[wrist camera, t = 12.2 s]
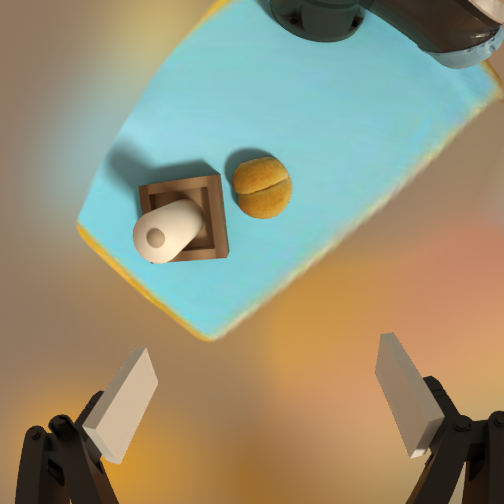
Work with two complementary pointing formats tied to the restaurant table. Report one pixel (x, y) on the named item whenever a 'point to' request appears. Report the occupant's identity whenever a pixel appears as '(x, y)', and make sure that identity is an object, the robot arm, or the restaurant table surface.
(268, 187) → the bread roll
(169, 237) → the paper roll
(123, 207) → the restaurant table surface
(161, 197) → the tray
